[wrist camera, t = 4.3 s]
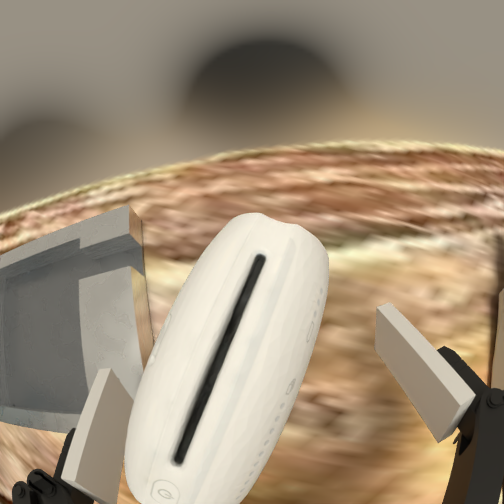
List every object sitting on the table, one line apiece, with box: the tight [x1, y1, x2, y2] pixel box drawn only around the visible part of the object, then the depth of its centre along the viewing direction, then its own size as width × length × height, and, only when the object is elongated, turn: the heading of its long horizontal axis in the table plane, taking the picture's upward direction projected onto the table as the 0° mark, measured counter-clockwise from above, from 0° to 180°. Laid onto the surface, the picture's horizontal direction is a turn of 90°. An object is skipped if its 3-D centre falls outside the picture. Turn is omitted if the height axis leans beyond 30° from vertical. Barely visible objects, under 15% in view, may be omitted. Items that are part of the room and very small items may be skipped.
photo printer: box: [124, 213, 329, 504], centre depth 11 cm, size 10×4×12 cm, turn 159°
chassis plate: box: [0, 205, 154, 433], centre depth 17 cm, size 22×16×2 cm
